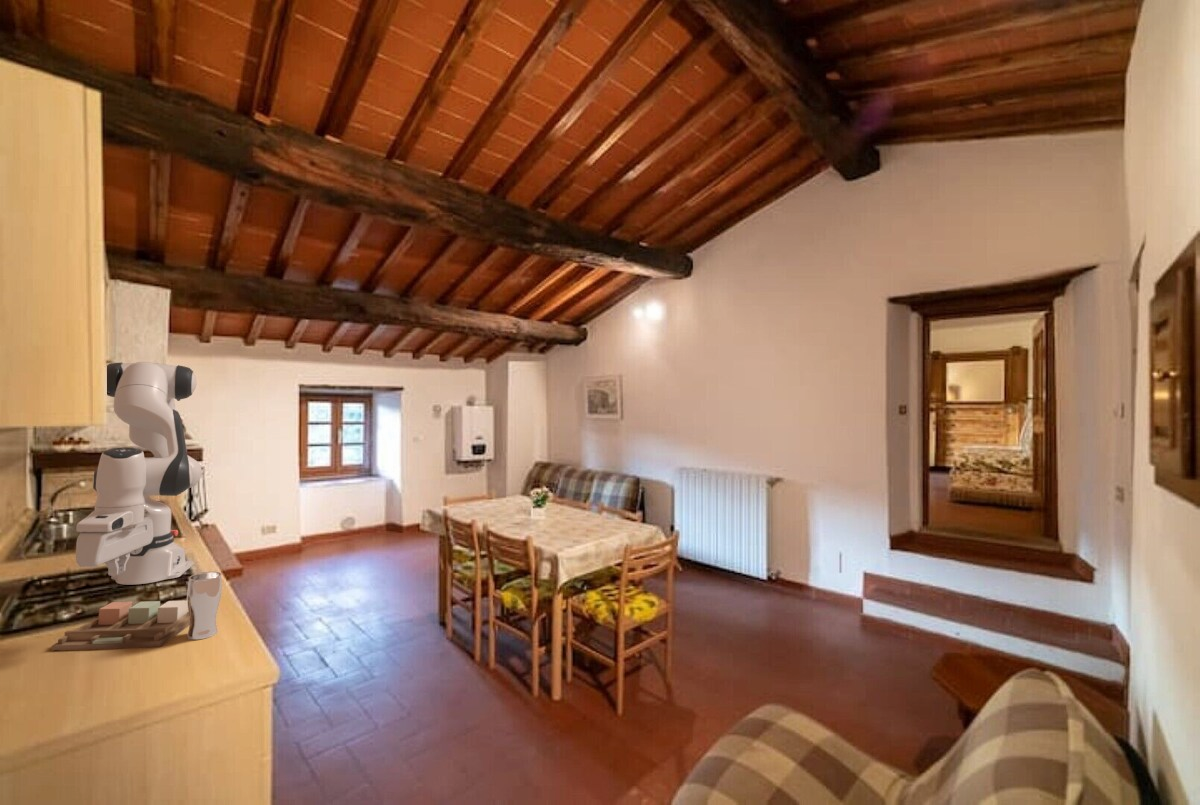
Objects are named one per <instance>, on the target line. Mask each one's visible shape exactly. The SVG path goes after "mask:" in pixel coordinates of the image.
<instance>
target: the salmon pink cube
mask: <svg viewBox="0 0 1200 805" xmlns="http://www.w3.org/2000/svg"><path fill="white" fill-rule="evenodd" d="M132 606H133V601H112V602H110V603H108V604H107V605H104V606H103V607H100V608H99V610H98V617H99V621H98V625H111V624H116V623H117V622H119V621H121V620H123V619H124V618H126V617H128V615H129V608H130V607H132Z"/></svg>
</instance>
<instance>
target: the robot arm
mask: <svg viewBox="0 0 1200 805" xmlns="http://www.w3.org/2000/svg"><path fill="white" fill-rule="evenodd" d="M106 366H107V396H108V397H111V398H113V412H114V413H115V415H116V416H117V417H118V418H119V419H120V420H121V421H122V422H124V423H125V424H127V425H129V428H128V432H129V433H128V437H129V439H130V441H131V442H132V443H133V444H134V445H135V446H138V447H140V448H142V449H146V450H147V451H149V452H150V453H152V455H153V457H152V456H151V457H149V456H148V457H145V454H144V450H141V449H140V448H135V447H116V448H115V447H114V448H109V449H107V450H104V451H103V452H102V453H101V456H100V458H99V461H98V466H97V468H96V469H95V470H94V472H93V482H92V484H93V486H92V487H93V490H94V491H95V492H96V494H97V498H96V501H95V503H94V510H93V511H91V513H89V514H88V515H87V516H86V517H84V518H83V519H82V520H80V521H79V522H77V524H76V529H75V530H76V532H77V533H79V535H78V536H77V539H76V543H75V544H76V547H75V562H76V564H77V565H78V567H81V568H82V567H83V568H85V567H86V568H90V567H91V568H92V567H93V568H94V567H98V566H100V565H103V564H105V566H106V567H107V570H108V571H107V574H108V576H109V577H110V576H111V580H114V581H115V583H116V584H120V585H127V586H128V585H132V586H133V585H142V584H143V585H144V584H150V583H156V582H160V581H164V580H170V579H171V580H172V579H175V578H179V577H181V576H182V575H183V574H184V573H185V572H187V571H188V570H189V569H190V568H191V567H192V566H193V565H194V563H195V562H194V561H193V560H188V559H186V550H185V548H184V547H182V546H180V545H179V544H178V543H176V542H175V540H174V537H177V536H178V535H179V530H177V529H172V528H171V526H172V509H171V508H170V506H169V505H167V504H166V503H164V502H161V501H159V500H155V499H153V498H152V497H151V496H162V497H163V496H170V497H171V496H173V497H174V496H176V497H177V496H179V495H180V494H182V493H184V492H185V491H186V490H188V489H190V488H194V487H195V486H196V485H197V484H198V483H199V482H200V480H201V478H202V474H203V471H202V467H201V464H200V462H198V461H197V459H195V458H194V457H192V456H190V455H188V449H187V443H186V436H185V431H184V427H183V422H182V418H181V414H180V413H179V411H178V410H176V405H175V404H176V403H175V400H177V402H180V401H181V400H184V399H188V398H189V397H191V396H192V395H193V393H194V391H195V389H196V387H197V378H196V375H195V373H194V370H192V369H191V368H190V367H188V366H183V365H179V364H178V365H173V364H165V363H157V362H156V363H155V362H149V361H147V362H146V361H139V362H129V363H125V362H124V363H123V362H122V361H121V362H111V363H109V364H107V365H106Z"/></svg>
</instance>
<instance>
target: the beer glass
mask: <svg viewBox="0 0 1200 805" xmlns="http://www.w3.org/2000/svg"><path fill="white" fill-rule="evenodd" d="M222 585H223V584H222V572H220V571H204V572H198V573H195V574H192V575H190V576H189V577H188V584H187V593H186V601H187V605H188V610H187V612H189V617H190V625H189V626H188V627H189V628H188V632H187V635H186V638H187V640H190V641H191V640H192V641H196V640H197V641H198V640H205V639H209V638H212V637H213V636H215V635H216V634H217V633H218V628H217V626H218V625H217V614H218V610H219V606H220V603H221V602H220V601H221V598H222V587H223V586H222Z"/></svg>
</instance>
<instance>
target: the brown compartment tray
mask: <svg viewBox="0 0 1200 805" xmlns="http://www.w3.org/2000/svg"><path fill="white" fill-rule="evenodd" d="M157 617H158V615H157V616H155V617H154V618H152V619H150V620H149V621H147V622H146V623H144V624H128V617H126V618H124V619H123V620H121V621H119V622H117V623H116V624H111V625H98V621H99V616H98V617H96V618H94V619H93V620H91V621H89V622H88V623H85V624H83V625H82V626H80V627H78V628H77V629H75V630H66V631H65V632H64V635H63V636H61V637H59V638H58V640H57V642H56V643H54V644H52V645H51V649H50V650H51V652H55V651H54V650H60V651H79V650H80V651H82V650H86V651H87V650H110V649H129V648H130V649H137V648H161V647H162V646H163V645H165V644H166V643H168V642H169V641H170V640H171V639H173V638H174V637H176V636H177V635H178V634H179V633H181V632H182V631H183V630H185V629H186V628H187V627H189V626H190V617H189V611H187V614H185V615H184V616H182V617H181V618H180V619H178V620H177V621H175V622H174V623H157Z"/></svg>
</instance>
